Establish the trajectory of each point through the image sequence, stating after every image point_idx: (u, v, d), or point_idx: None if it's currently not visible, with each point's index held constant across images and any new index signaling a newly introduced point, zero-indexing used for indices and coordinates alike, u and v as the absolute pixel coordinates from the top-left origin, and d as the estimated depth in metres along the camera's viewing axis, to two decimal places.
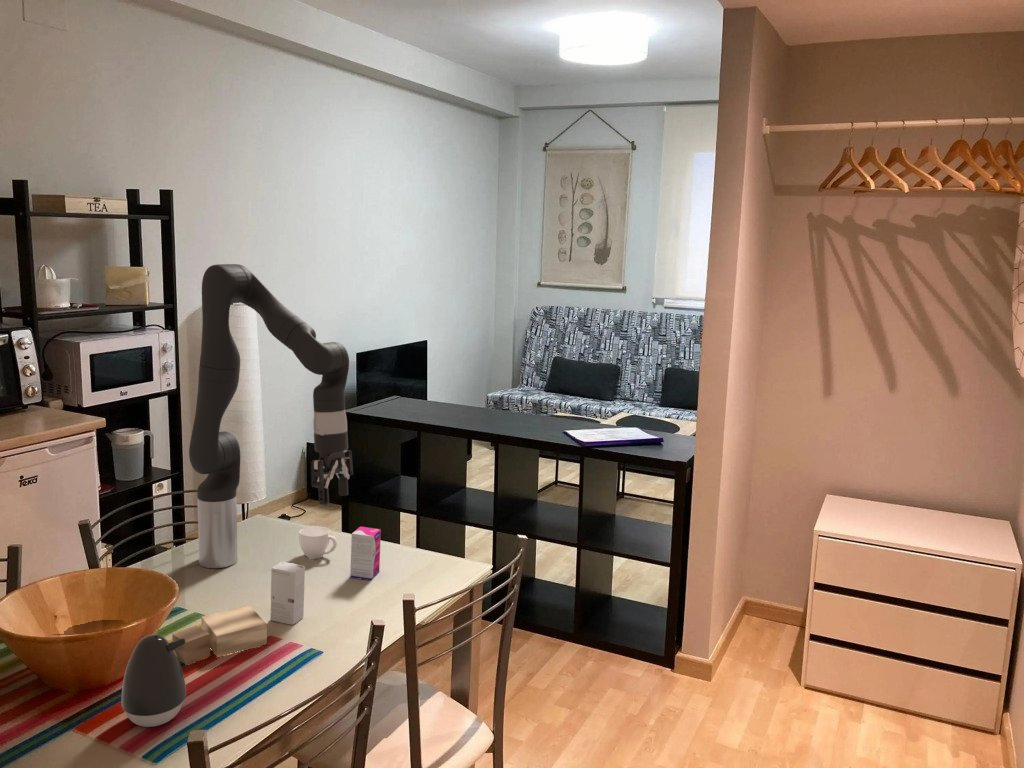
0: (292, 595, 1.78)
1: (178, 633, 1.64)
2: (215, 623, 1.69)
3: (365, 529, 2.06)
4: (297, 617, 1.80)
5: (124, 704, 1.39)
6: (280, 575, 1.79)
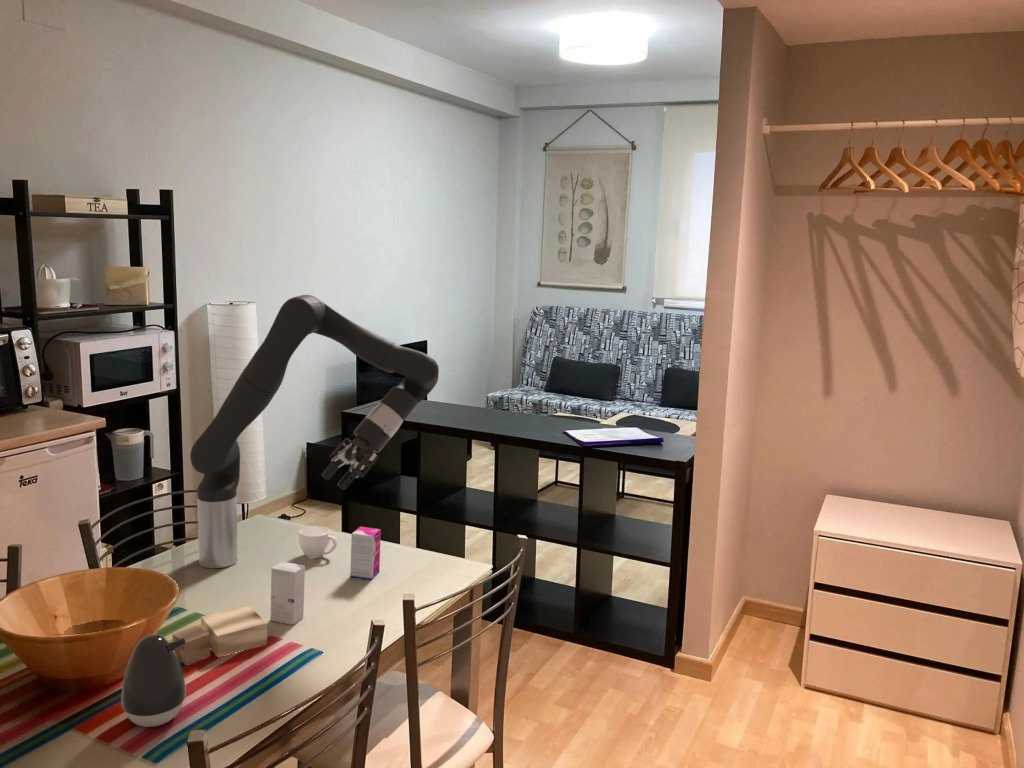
0: (292, 595, 1.78)
1: (178, 633, 1.63)
2: (215, 623, 1.69)
3: (365, 529, 2.06)
4: (297, 617, 1.80)
5: (124, 704, 1.39)
6: (280, 575, 1.79)
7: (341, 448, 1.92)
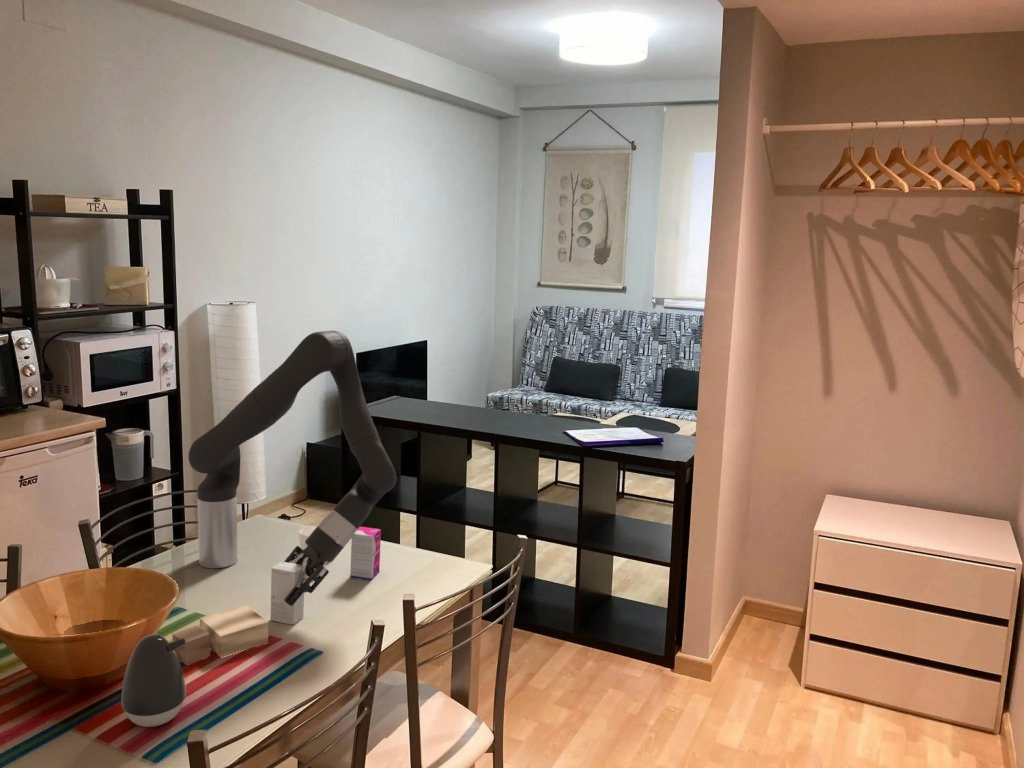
0: None
1: (178, 633, 1.63)
2: (216, 624, 1.68)
3: (365, 529, 2.06)
4: (297, 617, 1.80)
5: (124, 704, 1.39)
6: (280, 575, 1.79)
7: (292, 557, 1.86)
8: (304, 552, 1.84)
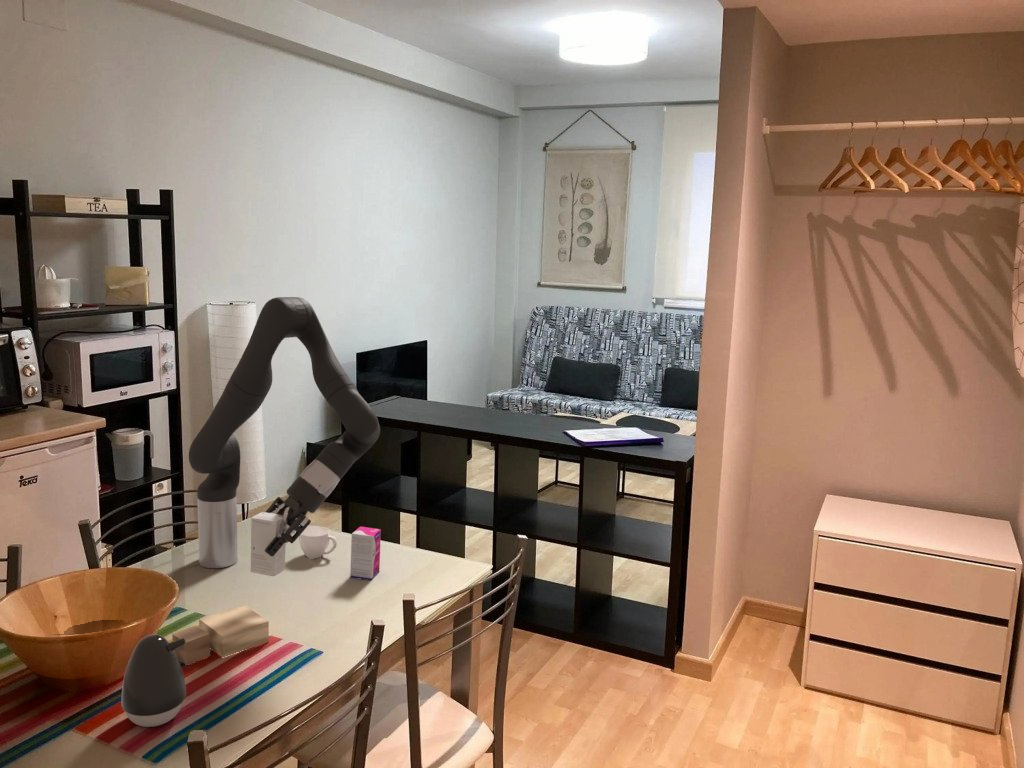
0: None
1: (178, 633, 1.63)
2: (216, 624, 1.68)
3: (365, 529, 2.06)
4: (278, 569, 1.74)
5: (124, 704, 1.39)
6: (260, 525, 1.72)
7: (273, 508, 1.80)
8: (285, 503, 1.78)
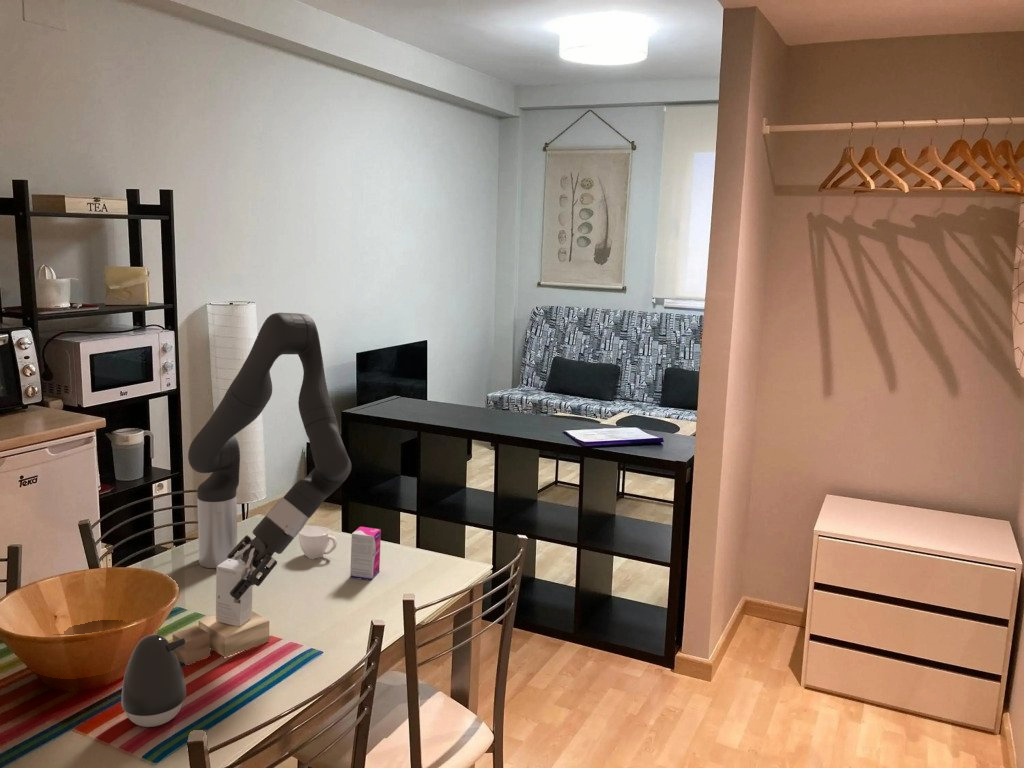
0: None
1: (178, 633, 1.64)
2: (216, 625, 1.68)
3: (365, 529, 2.06)
4: (244, 618, 1.69)
5: (124, 704, 1.39)
6: (225, 574, 1.67)
7: (240, 547, 1.75)
8: (251, 543, 1.73)
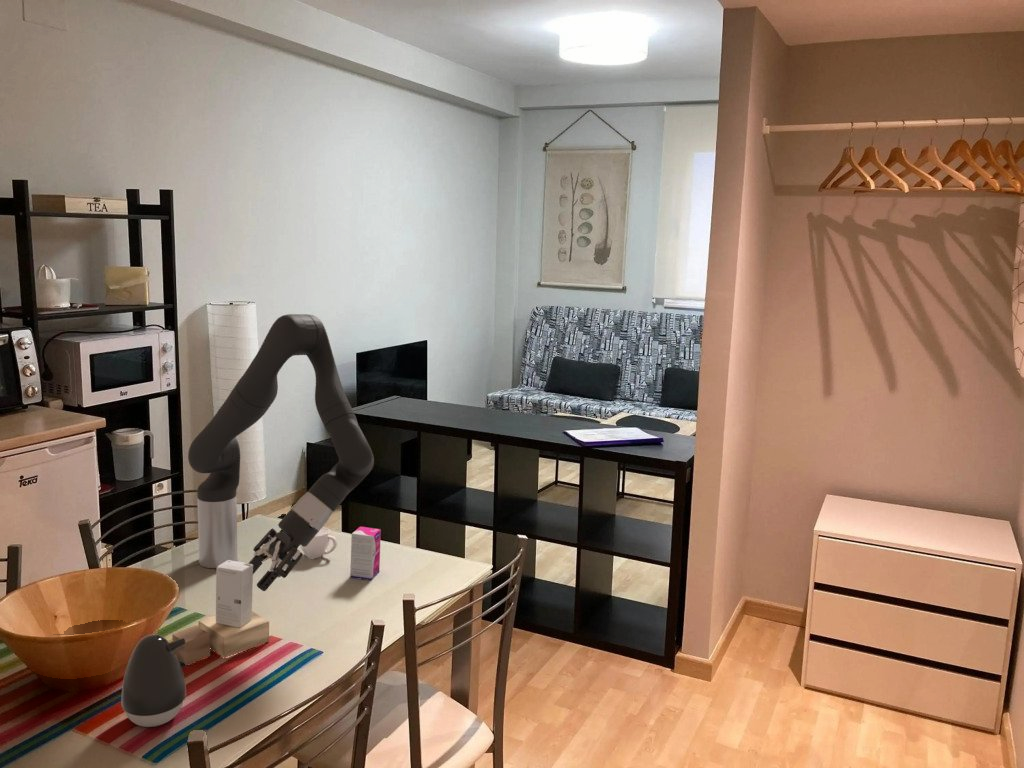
0: (238, 596, 1.66)
1: (178, 633, 1.64)
2: (216, 625, 1.68)
3: (365, 529, 2.06)
4: (244, 619, 1.68)
5: (124, 704, 1.39)
6: (226, 575, 1.67)
7: (266, 540, 1.78)
8: (277, 536, 1.76)
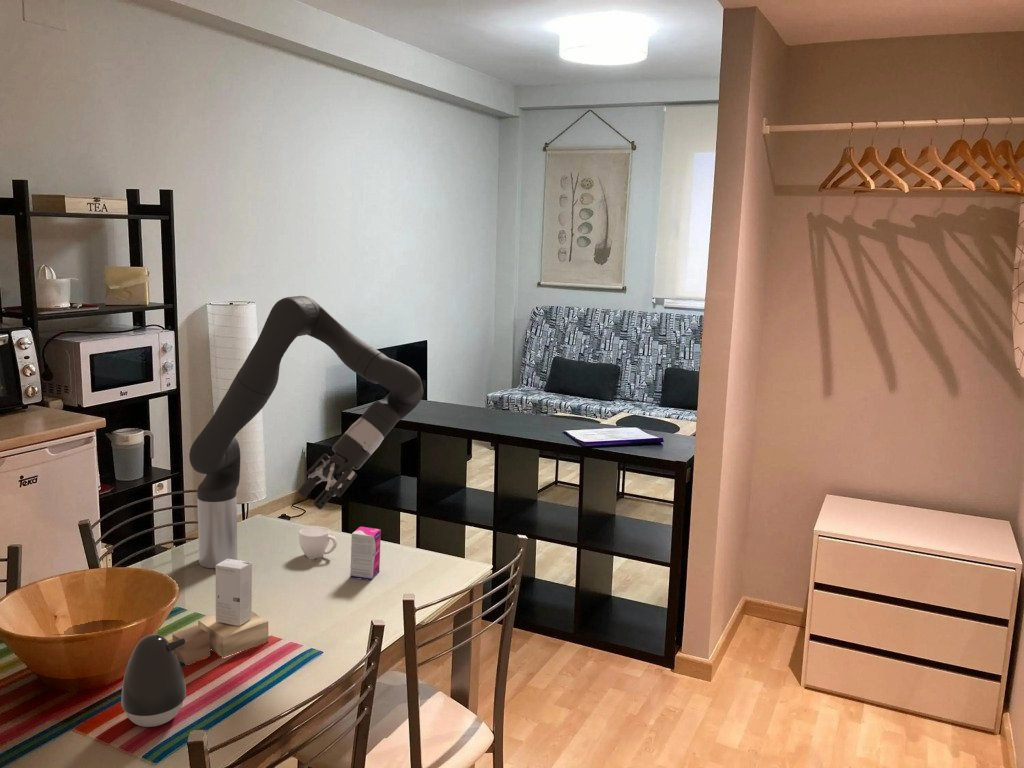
0: (237, 594, 1.67)
1: (178, 633, 1.64)
2: (215, 625, 1.68)
3: (365, 529, 2.06)
4: (244, 618, 1.69)
5: (124, 704, 1.39)
6: (224, 573, 1.67)
7: (319, 464, 1.85)
8: (331, 459, 1.82)
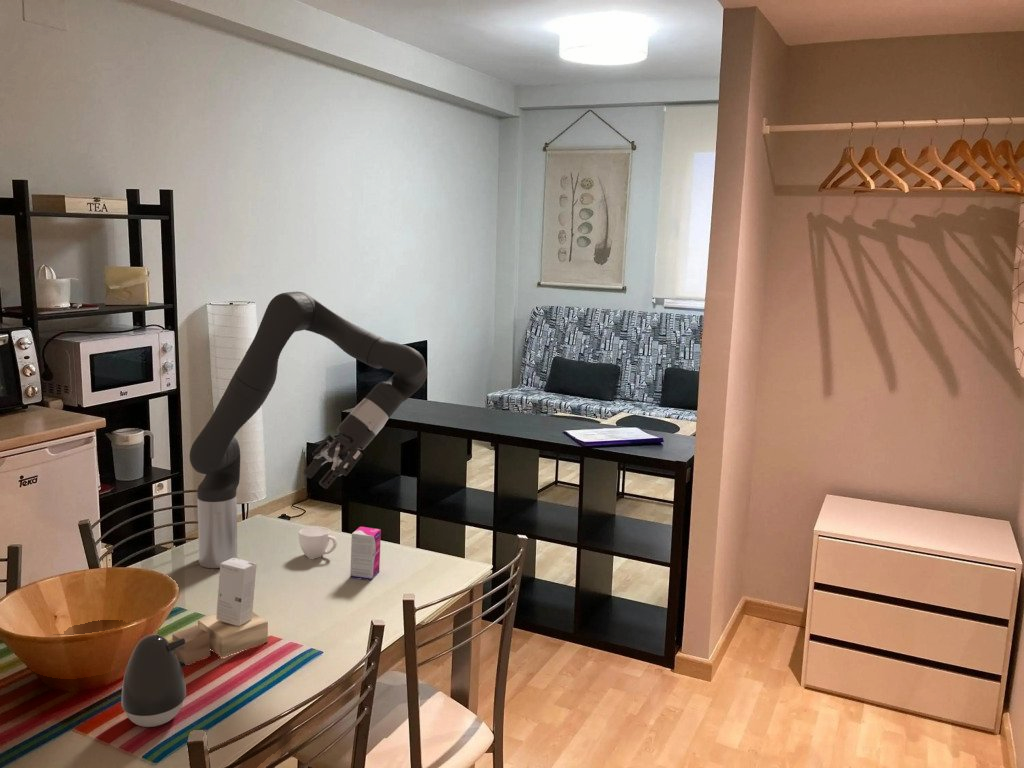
0: (239, 594, 1.67)
1: (178, 633, 1.63)
2: (215, 625, 1.68)
3: (365, 529, 2.06)
4: (244, 618, 1.69)
5: (124, 704, 1.39)
6: (228, 572, 1.67)
7: (324, 445, 1.86)
8: (336, 440, 1.83)
